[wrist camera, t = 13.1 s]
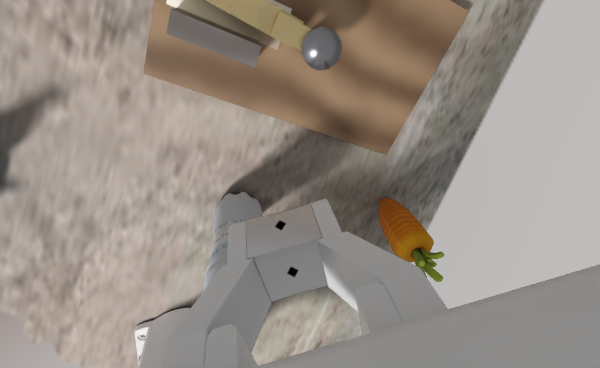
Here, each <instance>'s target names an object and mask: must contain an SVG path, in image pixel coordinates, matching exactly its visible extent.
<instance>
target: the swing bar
mask: <svg viewBox="0 0 600 368" xmlns="http://www.w3.org/2000/svg"><path fill="white" fill-rule="evenodd" d="M205 1H207V2H209V3H211V4H213V5H214V6H216V7H218V8H220V9H222V10H224V11H225V12H227V13H229V14H231V15H233V16H235V17H236V18H238V19H240V20H242V21H244V22H246V23H248V24H249V25H251V26H253V27H255V28H257V29H259V30H260V31H262V32H264V33H266V34H268V35H270V36H271V37H273V38H275V39H277V40H279V41H281V42H282V43H284V44H286V45H288V46H290V47H295V48H297V49H299V50H300V51H301V54H302V57H303V59H304V60H305V62H306V63H307V64H308V65H309V66H310V67H311V68H313V69H315V70H327V69H329V68H331V67H333V66H334V65H335V64H336V63H337V61H338V60H339V58H340V55H341V51H342V44H341V40H340V38H339V36H338V34H337V33H336V32H335V31H333V30H332V29H330V28H327V27H324V26H318V27H314V28H312V29H310V28H309V27H307V26H305V25H303V23H304V22H303V21H301V20H300V19H298V18H296V17H294V16H293V15H291V14H289V13H288V12H286V11H284V10H283V9H281V8H279V7H277V6H276V5H274V4H272V3H271V2H269V1H267V0H205Z"/></svg>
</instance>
